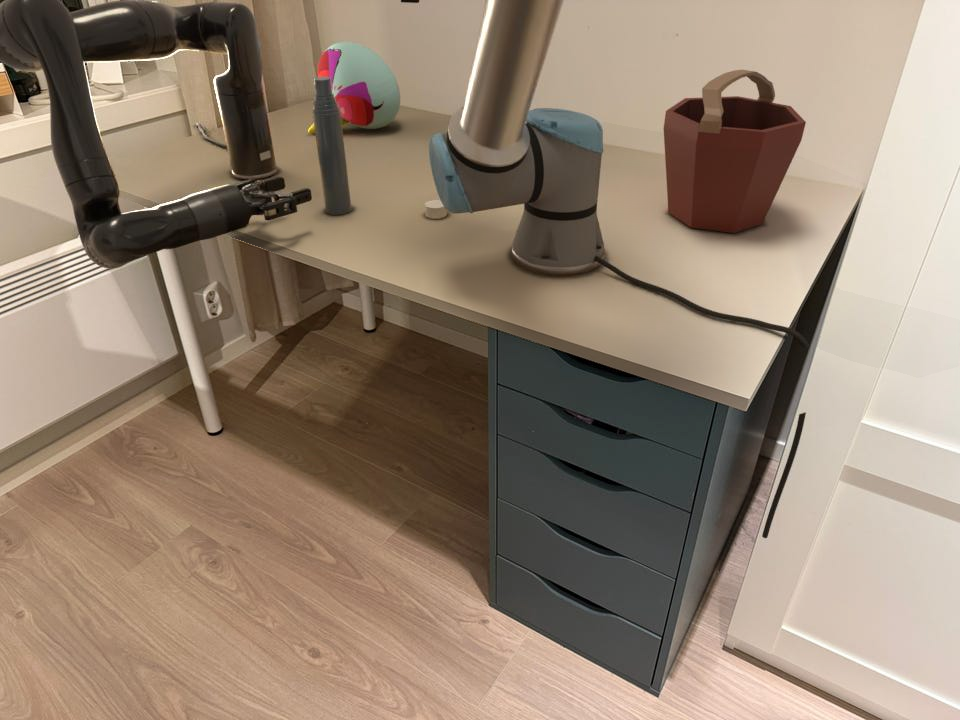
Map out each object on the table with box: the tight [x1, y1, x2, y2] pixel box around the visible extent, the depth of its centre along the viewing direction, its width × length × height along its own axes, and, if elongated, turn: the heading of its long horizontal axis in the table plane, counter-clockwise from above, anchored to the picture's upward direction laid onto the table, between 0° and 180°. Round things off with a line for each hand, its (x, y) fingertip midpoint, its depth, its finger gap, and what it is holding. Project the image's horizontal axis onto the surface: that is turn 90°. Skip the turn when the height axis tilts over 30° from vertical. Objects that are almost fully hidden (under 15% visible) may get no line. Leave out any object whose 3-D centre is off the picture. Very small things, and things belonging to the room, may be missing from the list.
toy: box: [307, 41, 401, 134], centre depth 176 cm, size 24×24×20 cm
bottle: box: [311, 76, 352, 216], centre depth 128 cm, size 5×5×24 cm
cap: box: [424, 199, 448, 220], centre depth 132 cm, size 4×4×2 cm
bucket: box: [663, 69, 807, 234], centre depth 125 cm, size 24×22×25 cm
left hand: (296, 187), depth 126 cm, fingers open, 8 cm apart
